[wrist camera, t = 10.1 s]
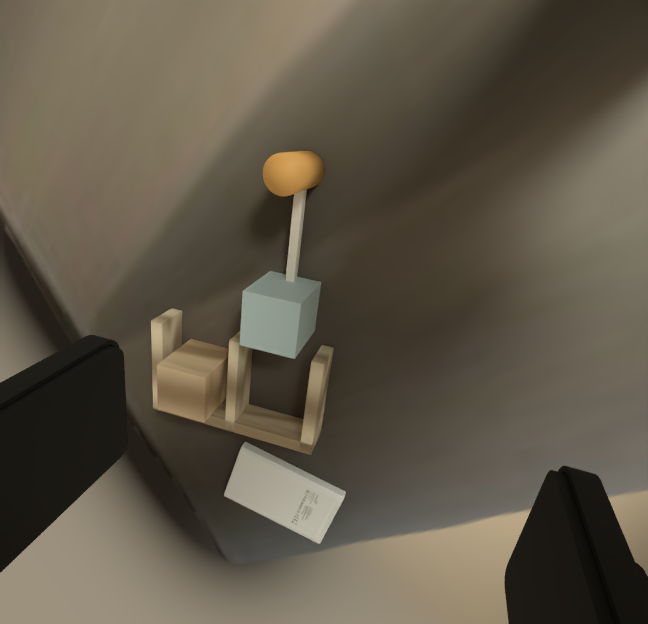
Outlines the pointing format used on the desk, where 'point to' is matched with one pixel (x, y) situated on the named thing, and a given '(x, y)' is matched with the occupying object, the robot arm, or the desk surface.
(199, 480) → the desk surface
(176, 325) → the shelf lanes
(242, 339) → the block
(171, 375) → the plain block
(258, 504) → the external hard drive
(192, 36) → the desk surface
